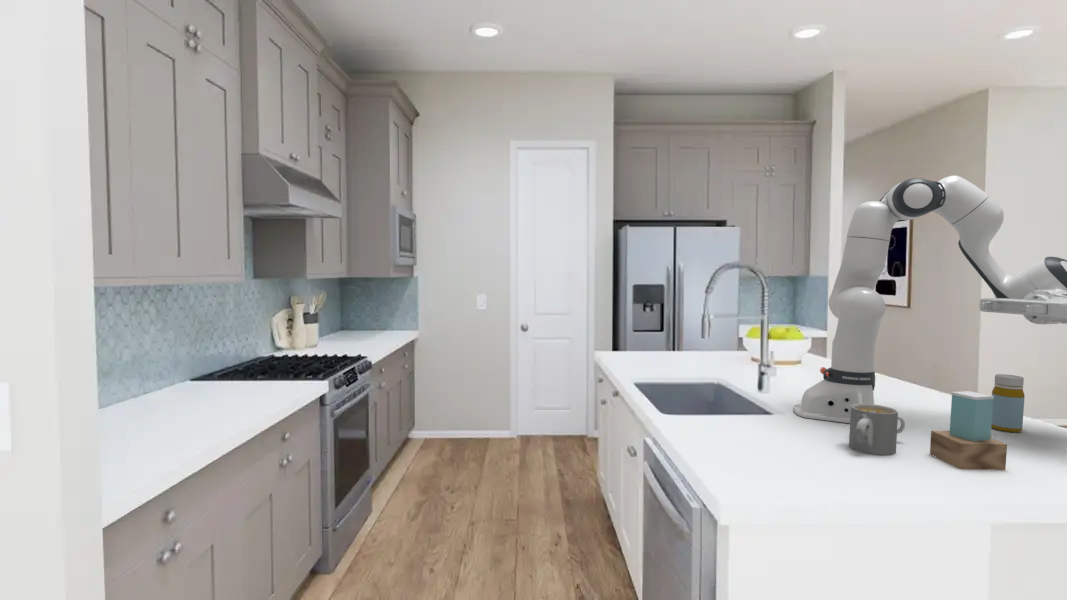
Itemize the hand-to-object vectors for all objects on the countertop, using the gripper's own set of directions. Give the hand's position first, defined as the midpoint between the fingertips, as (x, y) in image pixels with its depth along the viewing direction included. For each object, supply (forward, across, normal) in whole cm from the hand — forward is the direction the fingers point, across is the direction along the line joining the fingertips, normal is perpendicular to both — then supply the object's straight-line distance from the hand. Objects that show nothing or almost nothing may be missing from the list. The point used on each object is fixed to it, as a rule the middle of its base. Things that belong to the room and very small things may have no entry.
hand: (1004, 307), depth 144 cm
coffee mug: (+36, -5, +35) cm, 50 cm away
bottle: (-18, -10, +35) cm, 41 cm away
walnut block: (+20, +8, +35) cm, 41 cm away
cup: (+26, -10, +35) cm, 45 cm away
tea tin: (+20, +8, +29) cm, 36 cm away
